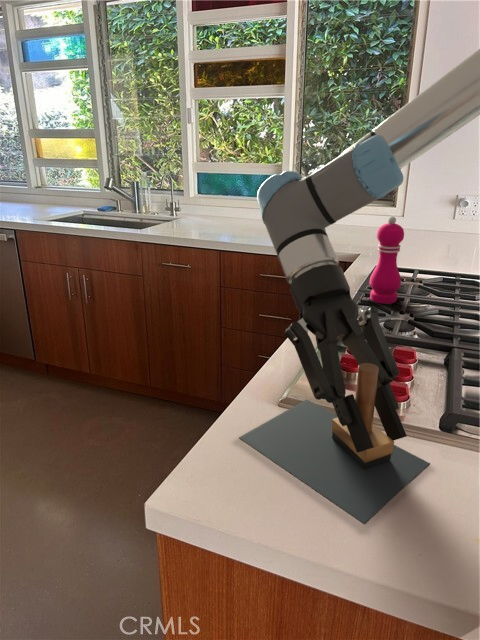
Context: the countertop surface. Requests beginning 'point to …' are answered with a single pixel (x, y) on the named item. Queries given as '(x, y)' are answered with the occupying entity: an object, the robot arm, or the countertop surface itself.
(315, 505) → the countertop surface
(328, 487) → the mat
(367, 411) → the scrub brush
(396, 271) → the pepper mill
